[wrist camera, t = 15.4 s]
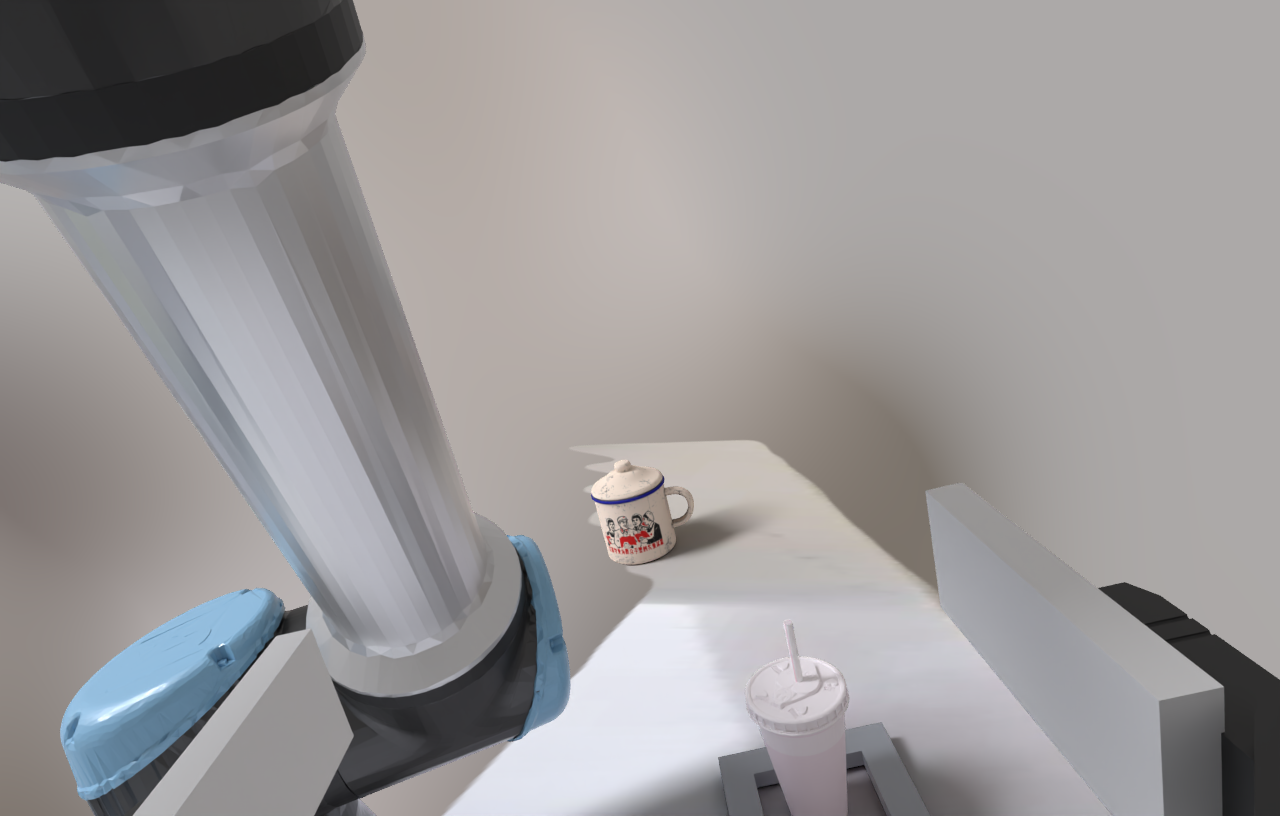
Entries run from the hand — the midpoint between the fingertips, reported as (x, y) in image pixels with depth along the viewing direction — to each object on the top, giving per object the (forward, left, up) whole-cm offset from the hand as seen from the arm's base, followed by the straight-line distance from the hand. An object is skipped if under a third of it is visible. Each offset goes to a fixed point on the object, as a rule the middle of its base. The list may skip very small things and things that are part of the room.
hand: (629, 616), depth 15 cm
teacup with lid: (-3, +69, -32) cm, 76 cm away
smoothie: (+6, +25, -32) cm, 41 cm away
